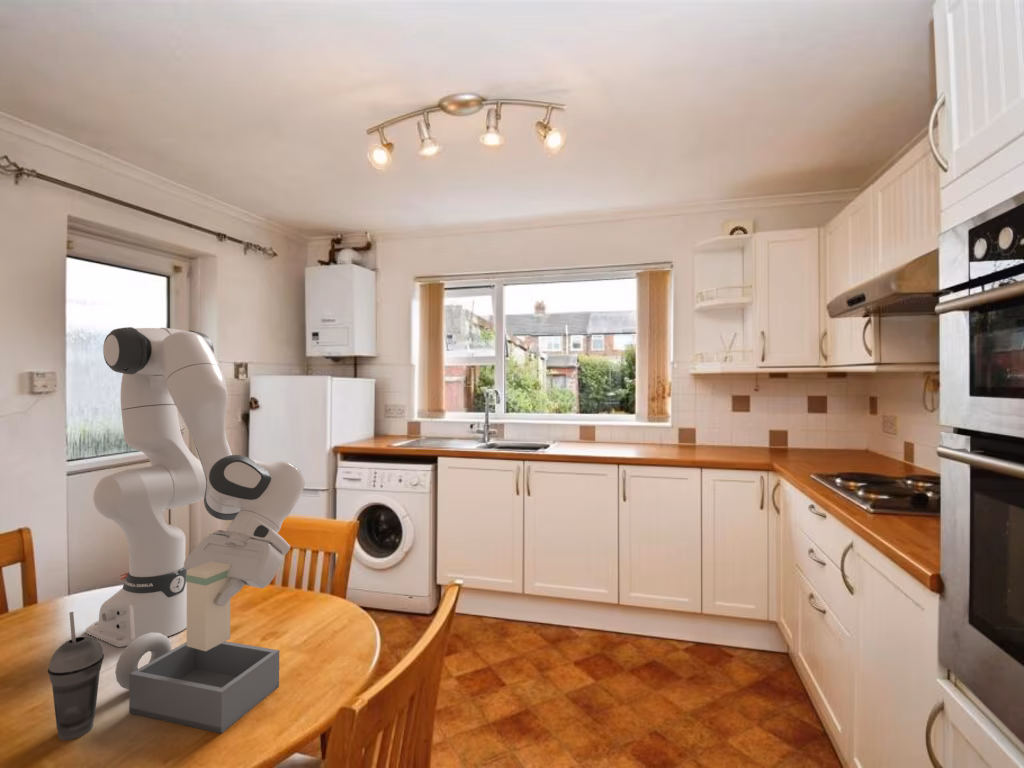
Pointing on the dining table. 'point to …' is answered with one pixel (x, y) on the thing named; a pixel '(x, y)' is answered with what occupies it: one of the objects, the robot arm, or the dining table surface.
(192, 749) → the dining table surface
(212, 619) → the juice carton
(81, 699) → the beverage cup
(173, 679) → the box
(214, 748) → the dining table surface
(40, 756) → the dining table surface
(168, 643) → the donut
